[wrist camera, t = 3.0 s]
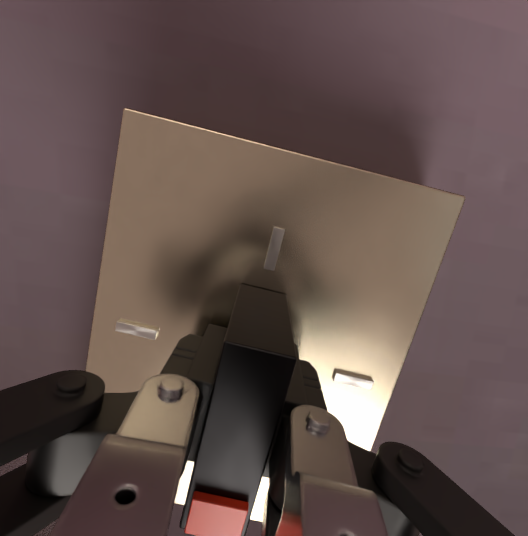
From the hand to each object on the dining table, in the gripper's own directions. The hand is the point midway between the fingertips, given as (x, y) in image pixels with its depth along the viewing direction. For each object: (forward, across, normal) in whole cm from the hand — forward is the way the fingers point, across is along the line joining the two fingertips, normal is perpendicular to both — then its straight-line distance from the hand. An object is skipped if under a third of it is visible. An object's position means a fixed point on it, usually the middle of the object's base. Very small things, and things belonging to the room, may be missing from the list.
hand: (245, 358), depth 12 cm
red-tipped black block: (0, 0, 0) cm, 0 cm away
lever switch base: (+3, 0, 0) cm, 3 cm away
